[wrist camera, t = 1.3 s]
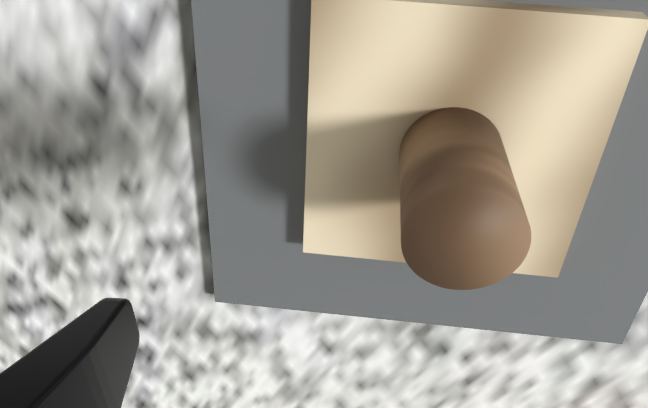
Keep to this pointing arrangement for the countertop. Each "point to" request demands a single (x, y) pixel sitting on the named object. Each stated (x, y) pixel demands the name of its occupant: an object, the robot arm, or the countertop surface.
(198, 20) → the mat
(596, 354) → the countertop surface
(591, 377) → the countertop surface
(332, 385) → the countertop surface
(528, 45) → the lid
